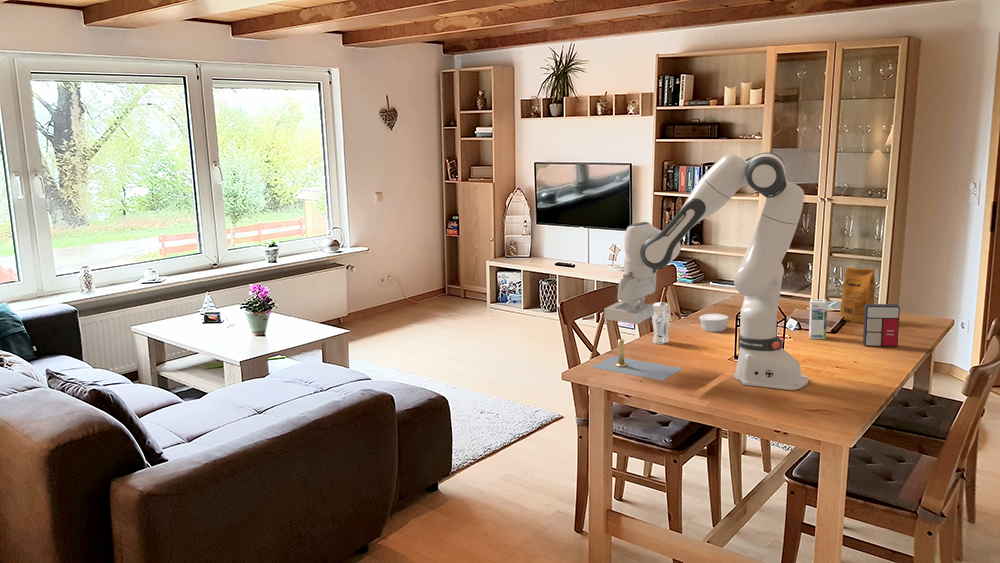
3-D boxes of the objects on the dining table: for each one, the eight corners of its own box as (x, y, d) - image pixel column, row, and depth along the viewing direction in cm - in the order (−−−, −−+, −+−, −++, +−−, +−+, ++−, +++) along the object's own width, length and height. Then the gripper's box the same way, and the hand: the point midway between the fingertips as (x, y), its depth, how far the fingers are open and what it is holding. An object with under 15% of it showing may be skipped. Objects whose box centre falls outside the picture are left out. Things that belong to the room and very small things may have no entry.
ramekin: (698, 332, 303) (699, 319, 302) (700, 325, 313) (700, 313, 312) (728, 333, 300) (728, 320, 299) (728, 326, 310) (728, 313, 309)
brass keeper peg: (629, 364, 259) (629, 339, 257) (623, 367, 256) (623, 342, 254) (619, 363, 262) (618, 337, 260) (613, 366, 259) (612, 340, 257)
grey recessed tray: (653, 315, 254) (654, 304, 253) (636, 324, 245) (636, 313, 244) (622, 310, 261) (622, 300, 260) (604, 318, 252) (604, 308, 251)
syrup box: (809, 339, 287) (811, 301, 284) (808, 335, 292) (810, 298, 289) (826, 339, 285) (827, 302, 282) (824, 335, 290) (826, 298, 288)
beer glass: (670, 344, 287) (670, 306, 284) (651, 344, 288) (651, 305, 286) (669, 339, 294) (670, 302, 291) (651, 339, 295) (651, 301, 292)
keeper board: (683, 372, 253) (683, 368, 253) (661, 385, 242) (661, 380, 242) (613, 360, 270) (613, 356, 270) (590, 371, 259) (590, 366, 259)
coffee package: (846, 315, 319) (848, 264, 315) (877, 320, 310) (879, 267, 306) (835, 320, 312) (838, 267, 308) (867, 325, 303) (869, 270, 299)
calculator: (865, 346, 274) (867, 306, 271) (862, 343, 278) (864, 303, 275) (898, 347, 271) (900, 306, 268) (895, 344, 275) (897, 304, 273)
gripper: (630, 276, 244) (629, 318, 247) (660, 266, 259) (658, 306, 262) (613, 274, 248) (612, 315, 251) (643, 264, 263) (642, 303, 266)
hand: (636, 310), depth 257 cm, fingers closed on grey recessed tray, 2 cm apart
